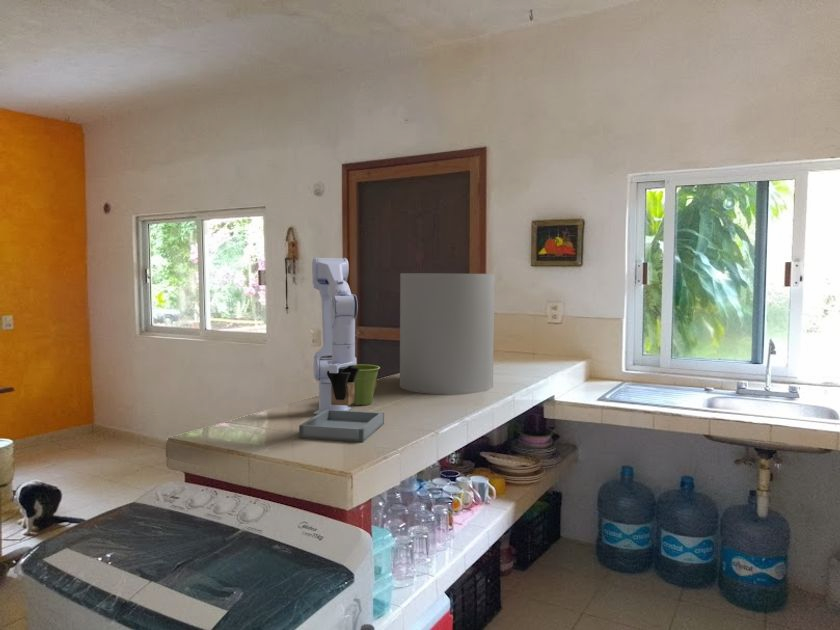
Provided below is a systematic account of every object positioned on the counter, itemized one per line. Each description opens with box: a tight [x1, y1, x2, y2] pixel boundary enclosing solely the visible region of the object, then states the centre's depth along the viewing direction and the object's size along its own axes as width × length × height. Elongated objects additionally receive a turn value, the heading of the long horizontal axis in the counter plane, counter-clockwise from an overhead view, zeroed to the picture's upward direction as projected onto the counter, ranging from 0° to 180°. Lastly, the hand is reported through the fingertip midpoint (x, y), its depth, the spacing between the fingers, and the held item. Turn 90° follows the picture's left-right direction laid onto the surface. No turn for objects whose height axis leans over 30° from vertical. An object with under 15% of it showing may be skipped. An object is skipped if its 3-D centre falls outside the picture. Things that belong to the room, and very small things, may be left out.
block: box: [331, 382, 354, 407], centre depth 150 cm, size 4×4×5 cm
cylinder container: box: [399, 272, 496, 395], centre depth 213 cm, size 34×33×40 cm
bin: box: [298, 409, 385, 443], centre depth 150 cm, size 18×16×3 cm
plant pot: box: [350, 363, 381, 406], centre depth 182 cm, size 12×12×11 cm
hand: (343, 397), depth 150 cm, fingers closed on block, 4 cm apart
